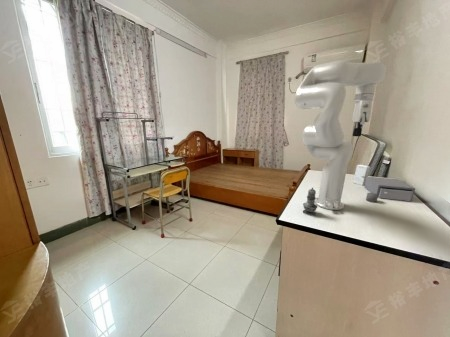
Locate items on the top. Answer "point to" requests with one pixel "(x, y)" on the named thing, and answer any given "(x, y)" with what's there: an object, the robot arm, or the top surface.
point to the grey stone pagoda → (310, 203)
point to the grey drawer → (395, 194)
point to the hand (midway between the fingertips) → (356, 136)
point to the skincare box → (361, 174)
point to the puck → (371, 197)
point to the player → (386, 185)
